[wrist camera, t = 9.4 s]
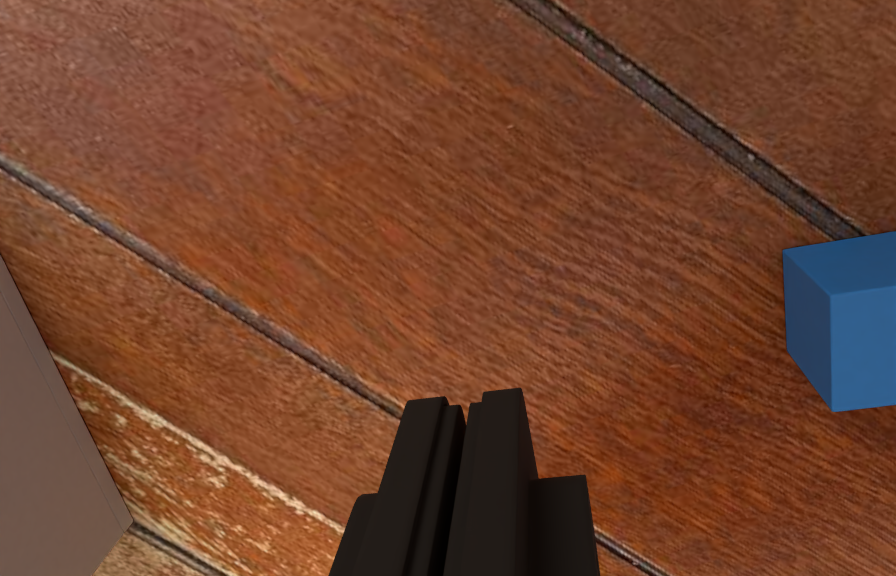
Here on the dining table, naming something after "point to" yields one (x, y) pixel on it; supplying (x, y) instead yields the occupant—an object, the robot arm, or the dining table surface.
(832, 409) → the blue toy cube
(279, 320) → the dining table surface
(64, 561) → the gray box
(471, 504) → the robot arm
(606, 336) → the dining table surface
